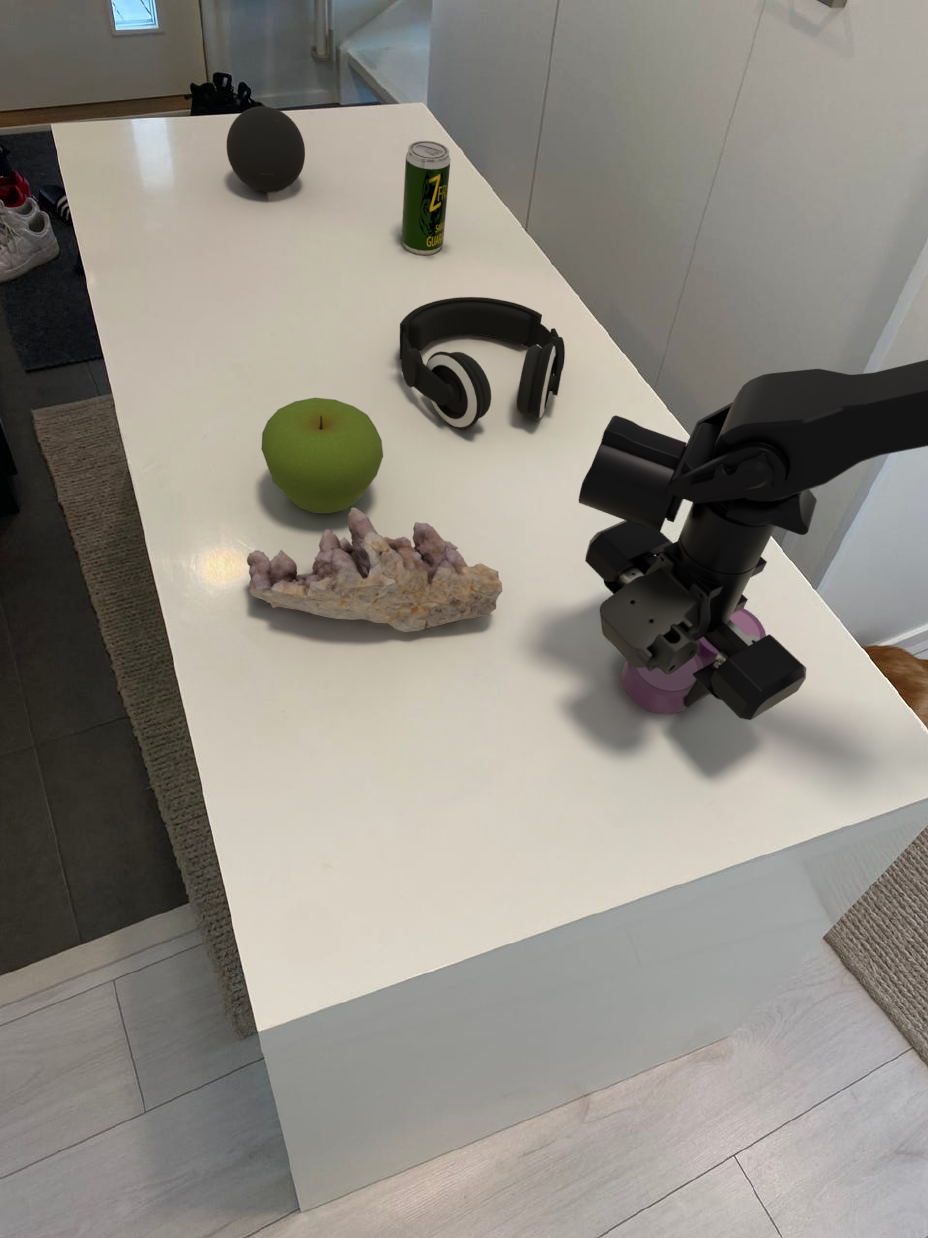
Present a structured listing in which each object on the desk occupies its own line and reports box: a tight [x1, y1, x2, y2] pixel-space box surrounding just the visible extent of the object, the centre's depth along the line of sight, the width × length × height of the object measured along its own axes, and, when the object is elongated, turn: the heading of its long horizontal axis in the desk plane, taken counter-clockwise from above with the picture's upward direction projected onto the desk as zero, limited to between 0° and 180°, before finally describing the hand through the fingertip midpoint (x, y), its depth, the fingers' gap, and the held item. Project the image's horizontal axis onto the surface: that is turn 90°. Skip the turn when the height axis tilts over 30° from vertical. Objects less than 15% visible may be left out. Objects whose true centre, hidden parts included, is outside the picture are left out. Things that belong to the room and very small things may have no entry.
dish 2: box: [696, 607, 767, 667], centre depth 81 cm, size 6×6×2 cm
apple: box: [261, 397, 384, 514], centre depth 85 cm, size 11×10×10 cm
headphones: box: [399, 296, 566, 430], centre depth 100 cm, size 18×8×20 cm
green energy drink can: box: [401, 140, 451, 256], centre depth 116 cm, size 5×5×12 cm
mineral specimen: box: [246, 507, 503, 633], centre depth 78 cm, size 20×10×10 cm
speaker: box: [226, 106, 306, 193], centre depth 122 cm, size 10×10×10 cm
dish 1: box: [620, 654, 703, 715], centre depth 78 cm, size 6×6×2 cm
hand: (661, 675), depth 78 cm, fingers closed on dish 1, 6 cm apart
